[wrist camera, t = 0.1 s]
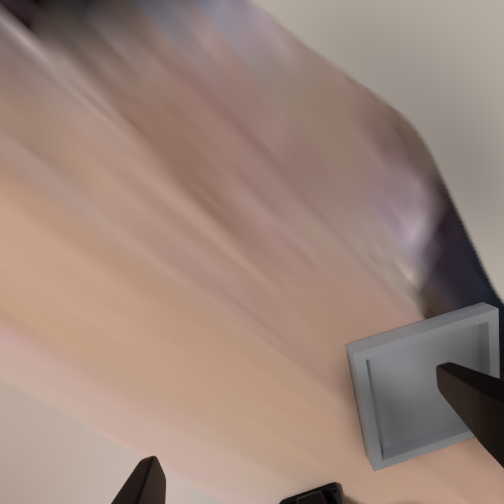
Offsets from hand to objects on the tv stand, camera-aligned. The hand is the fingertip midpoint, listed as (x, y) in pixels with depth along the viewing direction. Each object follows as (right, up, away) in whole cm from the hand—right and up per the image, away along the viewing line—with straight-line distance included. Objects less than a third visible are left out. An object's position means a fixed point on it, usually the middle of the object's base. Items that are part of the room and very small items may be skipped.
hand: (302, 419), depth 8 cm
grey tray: (+16, -8, +19) cm, 26 cm away
